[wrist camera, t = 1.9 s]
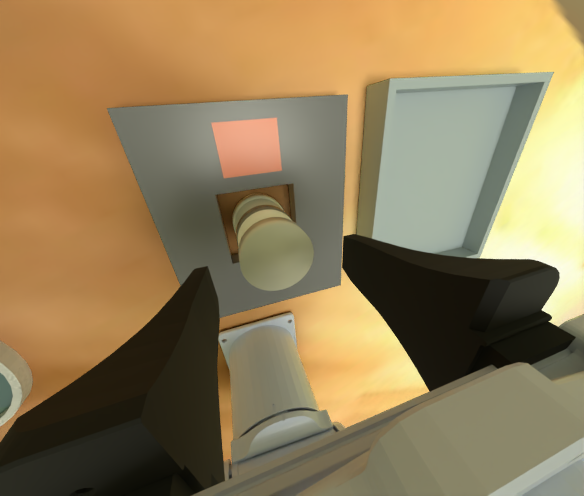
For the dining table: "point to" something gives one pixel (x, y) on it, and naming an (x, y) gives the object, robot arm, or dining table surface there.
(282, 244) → the fuse
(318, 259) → the fuse holder
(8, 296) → the dining table surface
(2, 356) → the magnifying glass
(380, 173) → the parts tray
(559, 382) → the robot arm
